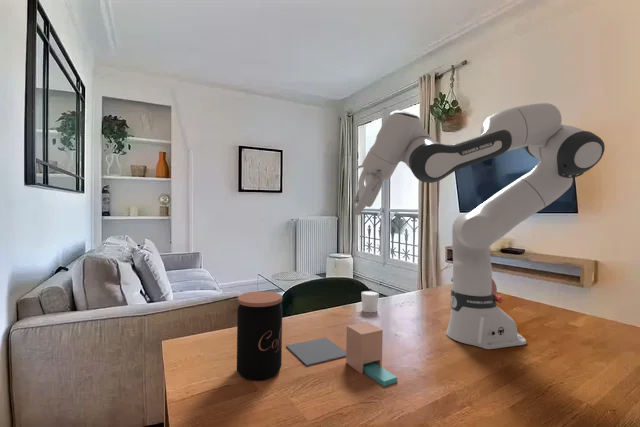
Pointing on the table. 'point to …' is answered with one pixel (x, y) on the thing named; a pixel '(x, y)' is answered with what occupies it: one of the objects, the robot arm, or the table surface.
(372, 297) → the white cylinder
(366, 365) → the stick
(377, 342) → the cover
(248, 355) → the coffee jar
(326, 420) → the table surface
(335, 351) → the pad
